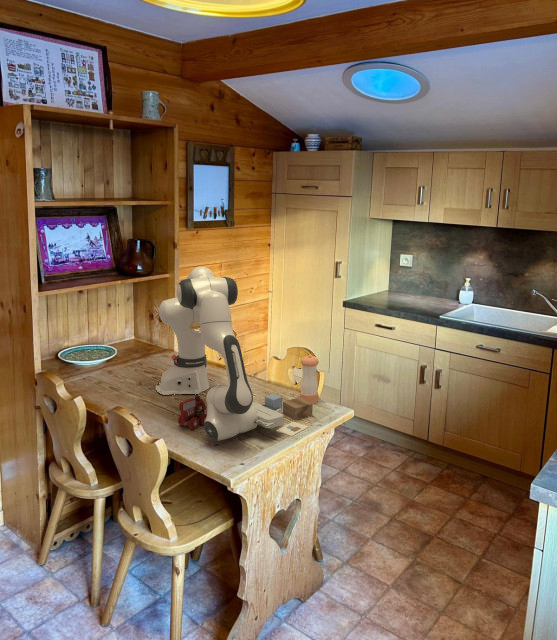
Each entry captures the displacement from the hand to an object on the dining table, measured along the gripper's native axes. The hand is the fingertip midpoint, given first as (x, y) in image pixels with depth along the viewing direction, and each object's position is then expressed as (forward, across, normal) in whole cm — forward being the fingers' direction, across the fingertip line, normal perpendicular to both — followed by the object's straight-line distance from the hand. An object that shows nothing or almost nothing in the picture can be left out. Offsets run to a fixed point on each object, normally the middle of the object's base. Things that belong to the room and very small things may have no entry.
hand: (275, 407), depth 222 cm
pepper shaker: (+24, +6, +6) cm, 26 cm away
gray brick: (-1, 0, +6) cm, 6 cm away
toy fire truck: (-23, +18, +6) cm, 30 cm away
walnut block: (+11, 0, +6) cm, 13 cm away
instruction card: (0, -9, +6) cm, 10 cm away
